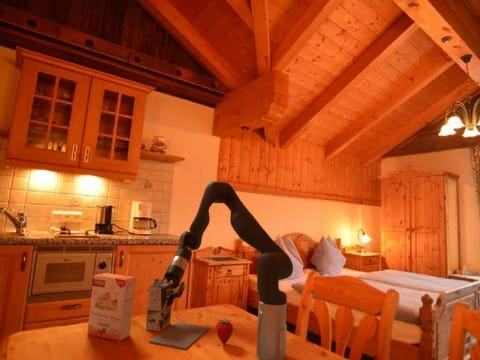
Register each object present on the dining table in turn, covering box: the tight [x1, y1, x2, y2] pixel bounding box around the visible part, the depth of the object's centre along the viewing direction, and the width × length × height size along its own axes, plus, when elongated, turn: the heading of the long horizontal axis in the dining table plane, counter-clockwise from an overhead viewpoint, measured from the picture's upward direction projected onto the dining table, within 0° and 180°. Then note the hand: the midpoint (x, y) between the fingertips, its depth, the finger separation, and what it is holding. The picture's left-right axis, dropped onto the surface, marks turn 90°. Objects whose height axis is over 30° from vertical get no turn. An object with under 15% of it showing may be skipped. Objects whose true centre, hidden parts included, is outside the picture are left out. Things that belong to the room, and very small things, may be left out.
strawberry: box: [215, 315, 234, 346], centre depth 106 cm, size 6×8×10 cm
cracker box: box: [87, 272, 136, 342], centre depth 108 cm, size 14×6×21 cm, turn 73°
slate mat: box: [148, 321, 210, 351], centre depth 111 cm, size 14×20×1 cm
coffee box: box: [145, 282, 174, 332], centre depth 119 cm, size 9×6×16 cm
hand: (160, 304), depth 119 cm, fingers closed on coffee box, 7 cm apart
